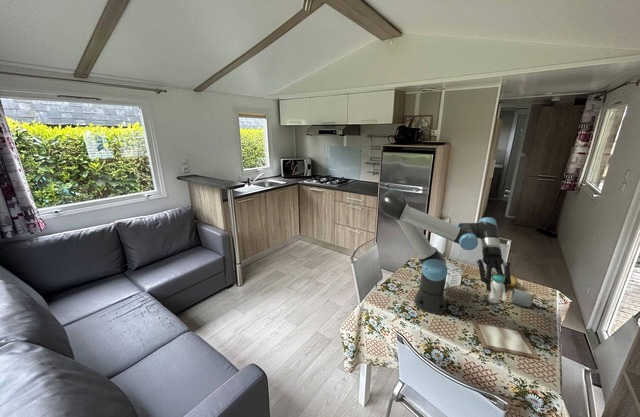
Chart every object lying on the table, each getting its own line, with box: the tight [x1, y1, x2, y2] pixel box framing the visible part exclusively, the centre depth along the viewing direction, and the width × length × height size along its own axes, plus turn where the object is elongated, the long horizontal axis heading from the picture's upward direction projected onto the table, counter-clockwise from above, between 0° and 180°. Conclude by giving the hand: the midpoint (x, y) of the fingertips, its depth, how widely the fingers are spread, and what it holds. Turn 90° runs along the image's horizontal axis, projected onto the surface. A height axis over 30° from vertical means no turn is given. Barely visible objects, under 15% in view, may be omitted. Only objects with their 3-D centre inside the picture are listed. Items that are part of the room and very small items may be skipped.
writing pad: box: [472, 320, 541, 360], centre depth 111 cm, size 20×16×1 cm
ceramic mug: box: [510, 288, 534, 308], centre depth 135 cm, size 11×8×8 cm
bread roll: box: [493, 270, 520, 290], centre depth 149 cm, size 13×10×8 cm
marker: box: [486, 272, 505, 306], centre depth 114 cm, size 4×4×14 cm
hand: (498, 299), depth 111 cm, fingers closed on marker, 4 cm apart
